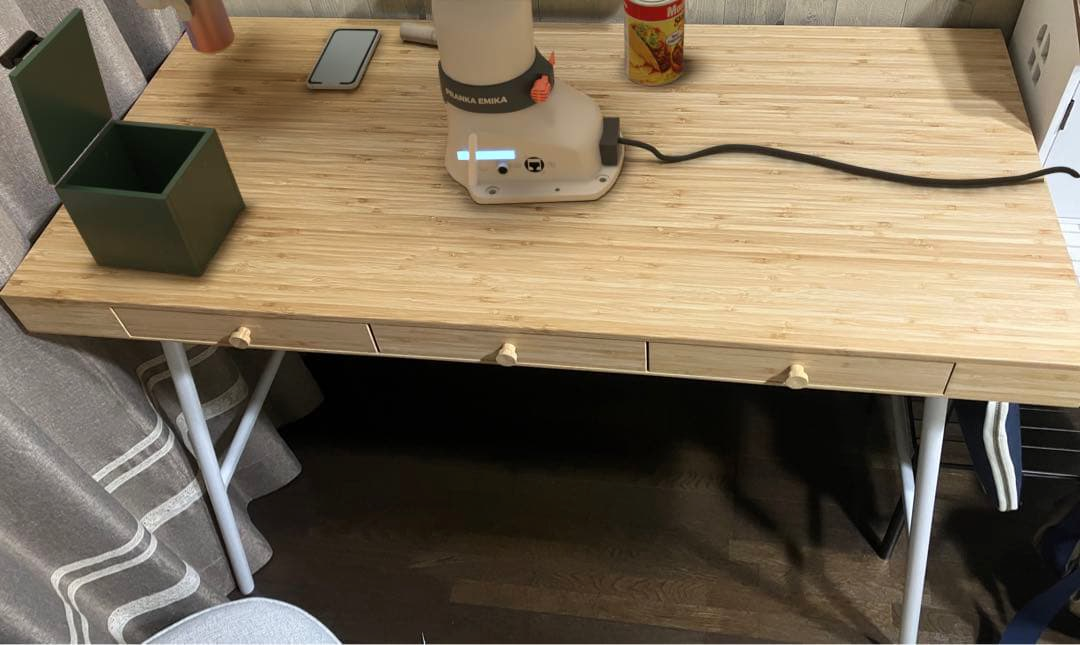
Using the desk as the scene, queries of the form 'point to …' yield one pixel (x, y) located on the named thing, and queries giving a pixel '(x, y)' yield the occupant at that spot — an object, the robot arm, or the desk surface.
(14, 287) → the desk surface
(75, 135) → the lid
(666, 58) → the canned food
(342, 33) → the smartphone
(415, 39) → the rod
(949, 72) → the desk surface
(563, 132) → the robot arm
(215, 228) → the dark green box
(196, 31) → the beverage can
